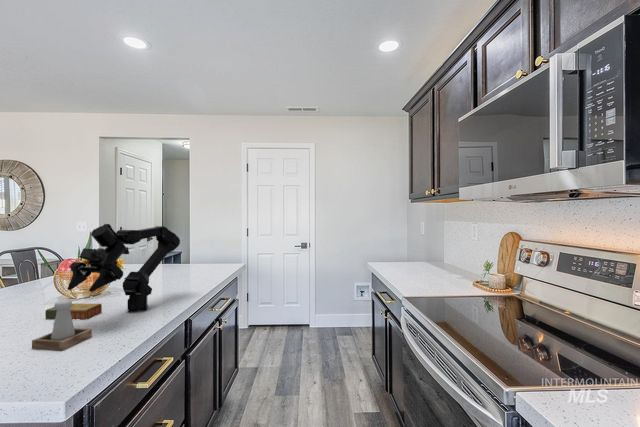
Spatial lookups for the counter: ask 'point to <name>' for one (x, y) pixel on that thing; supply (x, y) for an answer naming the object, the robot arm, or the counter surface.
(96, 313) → the carton
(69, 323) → the salt shaker
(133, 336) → the counter surface
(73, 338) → the walnut frame
